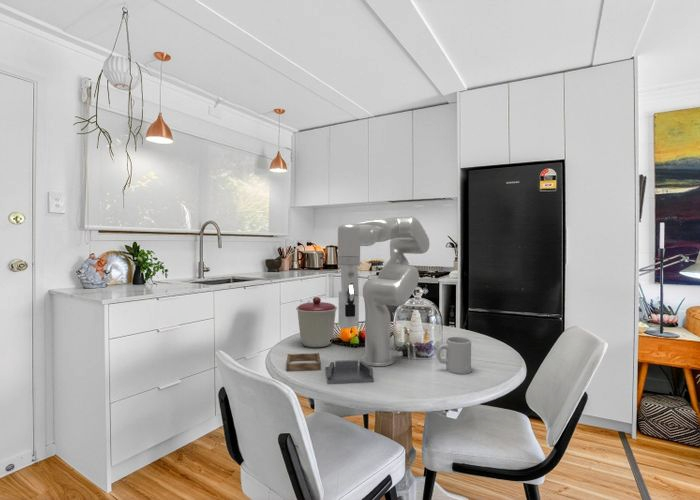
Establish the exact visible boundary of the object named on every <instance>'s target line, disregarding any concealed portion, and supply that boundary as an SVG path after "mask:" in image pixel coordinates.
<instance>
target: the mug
mask: <svg viewBox="0 0 700 500" xmlns="http://www.w3.org/2000/svg"><path fill="white" fill-rule="evenodd" d="M443 349H445V350H446V351H445V352H446V356H445V357H446V358H442V357H441V351H442V350H443ZM436 354H437V355H436V356H437V360H438V362H439V363H440V364H444V365H445V364H446V365H445V367H446V368H445V369H446V371H447V372H448V371H449V372H448V373H451V374H454V373H455V374H454V375H468V373H469V374H470V373H471V372H472V340H471V339H469V338H466V337H461V336H459V337H458V336H451V337H448V338H447V339H446V343H443V344H440V345H439V346H438V347H437V351H436Z"/></svg>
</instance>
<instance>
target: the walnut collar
mask: <svg viewBox="0 0 700 500" xmlns="http://www.w3.org/2000/svg"><path fill="white" fill-rule="evenodd" d="M306 361H307V362H306ZM309 361H312V362H309ZM313 361H314V362H313ZM315 361H316V362H315ZM292 362H293V363H292ZM295 362H296V363H295ZM321 370H322V361H321V356H320V352H315V353H314V352H313V353H312V352H309V353H308V352H307V353H287V357H286V372H302V371H303V372H304V371H305V372H306V371H321Z"/></svg>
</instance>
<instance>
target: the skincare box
mask: <svg viewBox="0 0 700 500" xmlns="http://www.w3.org/2000/svg"><path fill="white" fill-rule="evenodd" d="M354 293H355V292H354ZM347 295H349V293H347ZM354 297H355V317H346V316H345V304H346V296H344V294H343V291H342V290H341V291H338V319H337V320H338V321H337V322H338V323H337V324H338V327H339V328H342V329H350V328H354V327H357V326H359V323H360V322H359V321H360V320H359V319H360V315H359V314H360V313H359V312H360V310H359V309H360V308H359V307H360V305H359V304H360V294H359V295H358V296H356V295H355V294H354Z"/></svg>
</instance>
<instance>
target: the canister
mask: <svg viewBox="0 0 700 500" xmlns="http://www.w3.org/2000/svg"><path fill="white" fill-rule="evenodd" d="M295 310H296V311H297V318H298V327H299V335H300V336H299V337H300V340H301V343H302V345H303V346H305V347H306V348H307V347H308V348H324V347H328V346H329V345H330V344H331V343H332V341H331V342H330V340H331V339H332V340H333V338H334V337H333V336H334V329H335V320H336V312H337V311H336V310H338V307H337V306H336V305H335V304H333V303H330V302H324V301H323V302H322V300H321V298H320V297H318V296H315V297H313V298H312V302H311V301H310V302H305V303H300V304H299V305H298V306H297V307H295Z"/></svg>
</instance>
